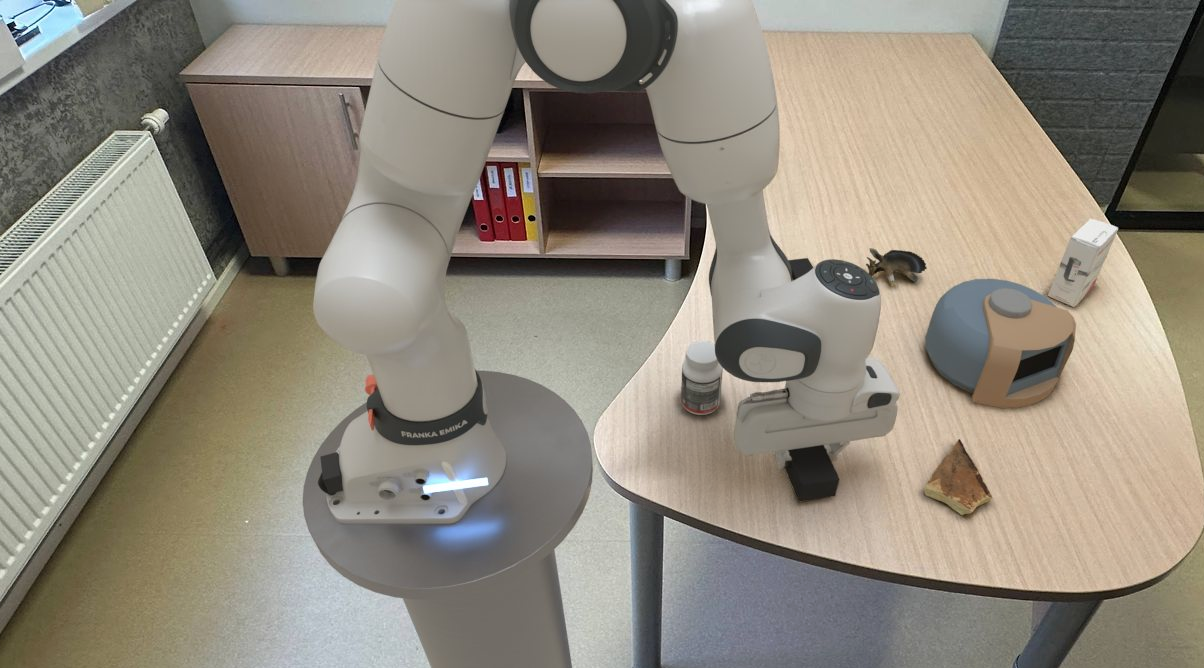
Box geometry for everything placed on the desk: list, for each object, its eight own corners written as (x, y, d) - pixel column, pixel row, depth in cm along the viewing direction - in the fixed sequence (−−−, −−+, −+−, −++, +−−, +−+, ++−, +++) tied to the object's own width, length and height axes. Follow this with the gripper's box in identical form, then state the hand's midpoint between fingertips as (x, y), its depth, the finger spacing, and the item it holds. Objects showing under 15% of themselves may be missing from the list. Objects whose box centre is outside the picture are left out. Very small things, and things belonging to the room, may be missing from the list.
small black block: (798, 502, 100) (802, 484, 98) (774, 444, 107) (777, 427, 105) (835, 496, 101) (840, 479, 98) (809, 439, 108) (813, 422, 105)
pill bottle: (688, 385, 117) (690, 334, 110) (724, 394, 115) (729, 343, 108) (675, 411, 113) (676, 359, 106) (713, 420, 111) (717, 369, 105)
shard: (956, 445, 109) (959, 436, 107) (1009, 473, 105) (1013, 464, 104) (920, 492, 102) (923, 483, 101) (975, 523, 99) (979, 515, 98)
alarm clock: (984, 423, 112) (1011, 360, 103) (897, 340, 125) (914, 278, 116) (1082, 384, 118) (1115, 321, 109) (989, 309, 131) (1012, 248, 122)
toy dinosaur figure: (876, 292, 132) (929, 282, 131) (870, 250, 131) (924, 239, 130) (866, 288, 139) (916, 279, 139) (860, 248, 138) (911, 239, 138)
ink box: (1065, 274, 138) (1091, 215, 130) (1094, 286, 136) (1122, 227, 128) (1044, 296, 134) (1070, 236, 125) (1073, 308, 131) (1101, 248, 123)
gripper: (746, 415, 89) (736, 491, 99) (913, 392, 93) (887, 468, 102) (732, 377, 94) (723, 454, 103) (891, 357, 97) (868, 433, 107)
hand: (806, 461), depth 103 cm, fingers closed on small black block, 5 cm apart
